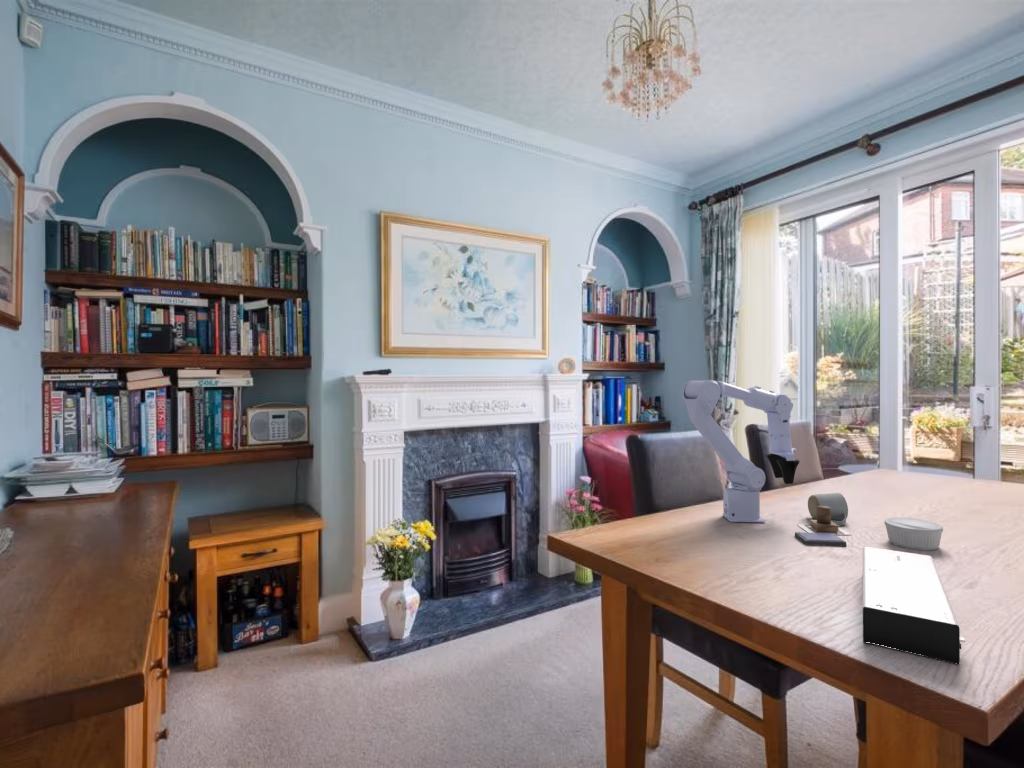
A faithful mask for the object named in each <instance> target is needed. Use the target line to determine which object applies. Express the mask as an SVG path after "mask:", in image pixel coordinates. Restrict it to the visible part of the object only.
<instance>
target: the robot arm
mask: <svg viewBox="0 0 1024 768" xmlns="http://www.w3.org/2000/svg"><path fill="white" fill-rule="evenodd" d="M724 397H727V398H730V399H735V400H740V401H743V404H744V405H745V406H746V407H748V408H749V407H750V408H753V409H757V410H760V411H762V412H764V413H765V414H766V418H767V428H768V429H767V430H768V438H769V439H768V440H769V446H768V447H769V448H768V449H769V454H768V453H767V454H765V458H766V459H767V460H768V462H769V464H770V466H771V469H772V473H773V475H774V477H775V479H780V478H781V479H782V480H783V483H784V484H785V485H791V484H794V480H795V474H796V470H797V468H798V466H799V464H800V460H799V459H798V458H797V459H795V458H796V457H795V452H797V451H798V450H797V448H795V447H793V444H792V435H791V434H792V433H791V422H790V421H791V420H790V419H791V412H792V410H793V408H794V403H793V402H792V400H791V398H790V397H788V395H786V394H776V393H775V391H773V390H768V391H767V390H764V389H762V386H756V385H755V386H751V387H749V388H747V389H745V388H742V387H739V386H736V385H734V384H729V383H727V382H724V381H720V380H714V379H708V380H696V379H691V380H689V381H687V382H686V383H685V384H684V386H683V389H682V394H681V399H683V401H684V402H685V405H686V409H687V413H688V414H687V415H688V418H689V421H690V422H691V423H692V425H693V426H694V427H695V429H696V430H697V431H698V432H699V434H700V435H701V436H702V437H703V439H705V441H706V443H707V444H708V445H709V446H710V447H711V449H712V451H714V452H715V454H716V455H717V456H718V457H719V459H720V460H721V461H722V463H723V467H722V469H723V470H724V471H725V474H726V477H727V480H728V482H729V483H730V486H731V487H728V488H727V487H726V488H724V490H723V494H722V495H723V496H722V497H723V499H722V501H723V504H722V505H723V510H722V511H723V513H722V515H723V516H724V518H726V519H727V520H728V521H729V522H730V523H731V522H732V523H733V522H734V523H766V521H765V520H764V519H763V518H762V517H760V516H761V515H760V514H761V511H760V510H761V509H760V508H761V507H760V505H761V504H760V503H761V502H760V501H761V500H760V499H761V498H760V491H762V488H763V487H764V485H765V483H766V473H765V471H764V470H763V469H762V468H760V467H757V466H756V465H755V464H754V463H753V462H752V461H751V460H749V459H748V458H746V457H745V456H743V454H742V453H741V452H740V450H739V449H738V448H737V447H736V445H735V444H734V443H733V442H732V440H731V439H730V438H729V437H728V435H727V434H726V432H725V431H724V430H723V429H722V428H721V427H720V425H719V424H718V422H717V421H716V420H715V418H714V417H713V416H712V413H713V412H714V410H715V408H716V406H717V404H718V401H719V400H720V398H724Z"/></svg>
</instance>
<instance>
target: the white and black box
mask: <svg viewBox="0 0 1024 768" xmlns="http://www.w3.org/2000/svg"><path fill="white" fill-rule="evenodd" d="M956 618H957V617H956V615H955V613H954V610H953V608H952V605H951V602H950V600H949V597H948V596H947V592H946V590H945V587H944V584H943V582H942V579H941V577H940V574H939V571H938V569H937V566H936V564H935V561H934V559H933V557H932V556H931V555H927V554H920V553H913V552H908V551H907V552H906V551H899V550H893V549H892V550H891V549H885V548H877V547H872V546H863V547H862V643H863V642H870V643H875V644H879V645H884V646H887V647H891V648H896V649H899V650H903V651H908V652H912V653H916V654H921V655H924V656H923V657H925V656H928V657H927V658H929V657H932V658H931V659H934V658H937V659H936V660H938V659H940V660H939V661H942V660H945V661H944V662H946V661H949V662H948V663H951V662H953V664H955V663H957V664H959V665H960V660H961V654H960V653H961V650H962V644H961V643H966V639H965V637H962V636H961V635H960V634H961V633H960V632H961V631H960V625H959V624H958V621H957V619H956ZM899 650H898V651H899ZM903 651H902V652H903ZM908 652H907V653H908ZM912 653H911V654H912ZM916 654H915V655H916ZM957 664H956V665H957Z"/></svg>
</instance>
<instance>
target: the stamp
mask: <svg viewBox="0 0 1024 768" xmlns="http://www.w3.org/2000/svg"><path fill="white" fill-rule="evenodd" d="M809 525H810V526H811V527H812V528H813V529H815V530H816V531H817V532H838V527H839V526H838V525H837V524H835V523H833V522H832V521H831V508H830V507H827V506H817V519H809Z"/></svg>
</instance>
